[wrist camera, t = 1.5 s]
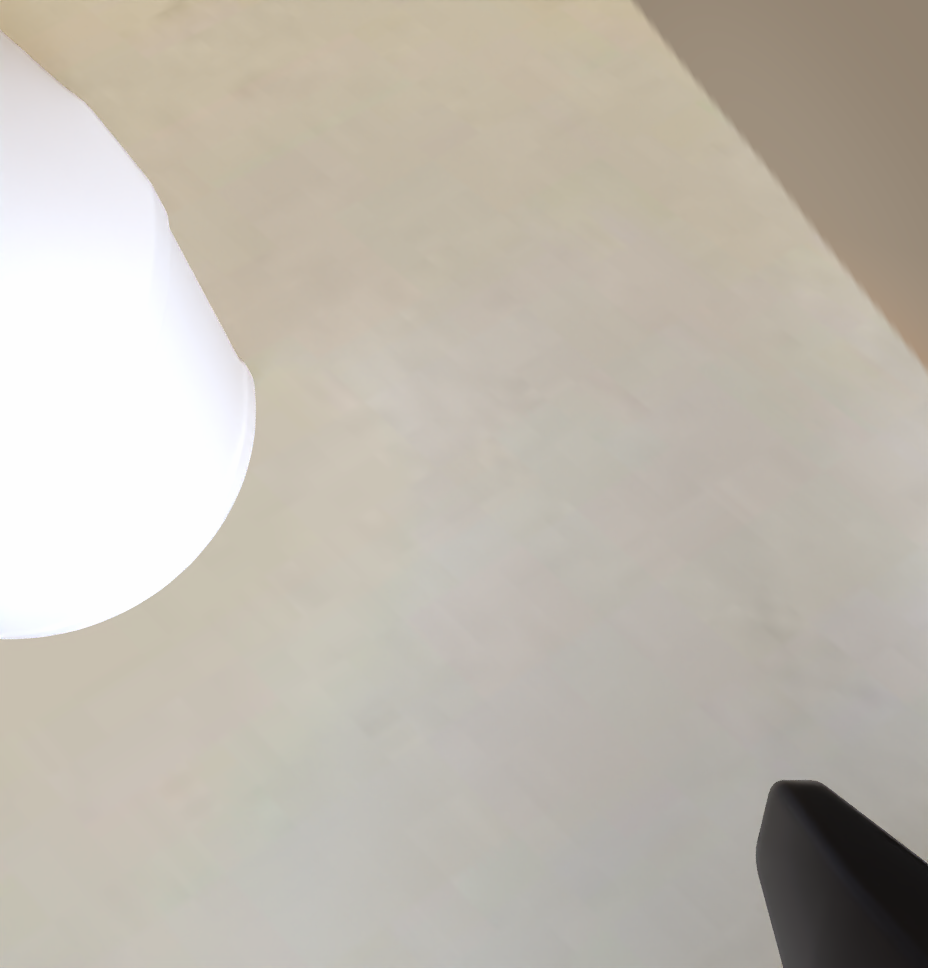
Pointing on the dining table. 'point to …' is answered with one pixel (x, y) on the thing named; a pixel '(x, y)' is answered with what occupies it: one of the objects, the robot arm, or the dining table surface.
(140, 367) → the jar
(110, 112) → the dining table surface
